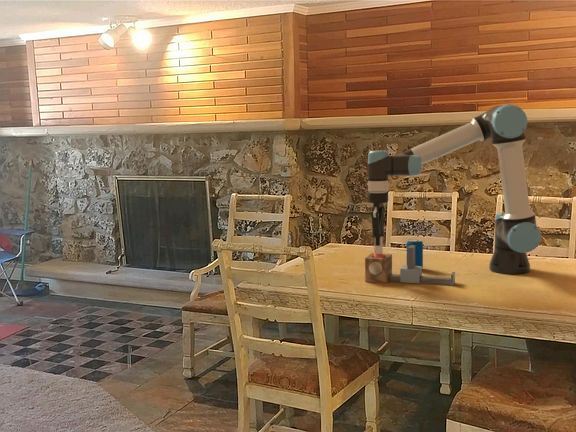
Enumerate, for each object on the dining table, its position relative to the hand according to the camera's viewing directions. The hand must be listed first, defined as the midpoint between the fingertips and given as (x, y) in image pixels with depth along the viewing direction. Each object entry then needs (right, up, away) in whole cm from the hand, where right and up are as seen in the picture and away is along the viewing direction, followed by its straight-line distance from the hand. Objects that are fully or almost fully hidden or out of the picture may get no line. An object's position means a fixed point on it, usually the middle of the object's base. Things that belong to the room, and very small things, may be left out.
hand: (378, 253), depth 234 cm
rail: (+15, -10, -5) cm, 19 cm away
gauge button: (0, -6, +1) cm, 6 cm away
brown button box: (0, -10, +1) cm, 10 cm away
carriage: (+12, -10, -3) cm, 16 cm away
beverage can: (+17, -8, +16) cm, 25 cm away
